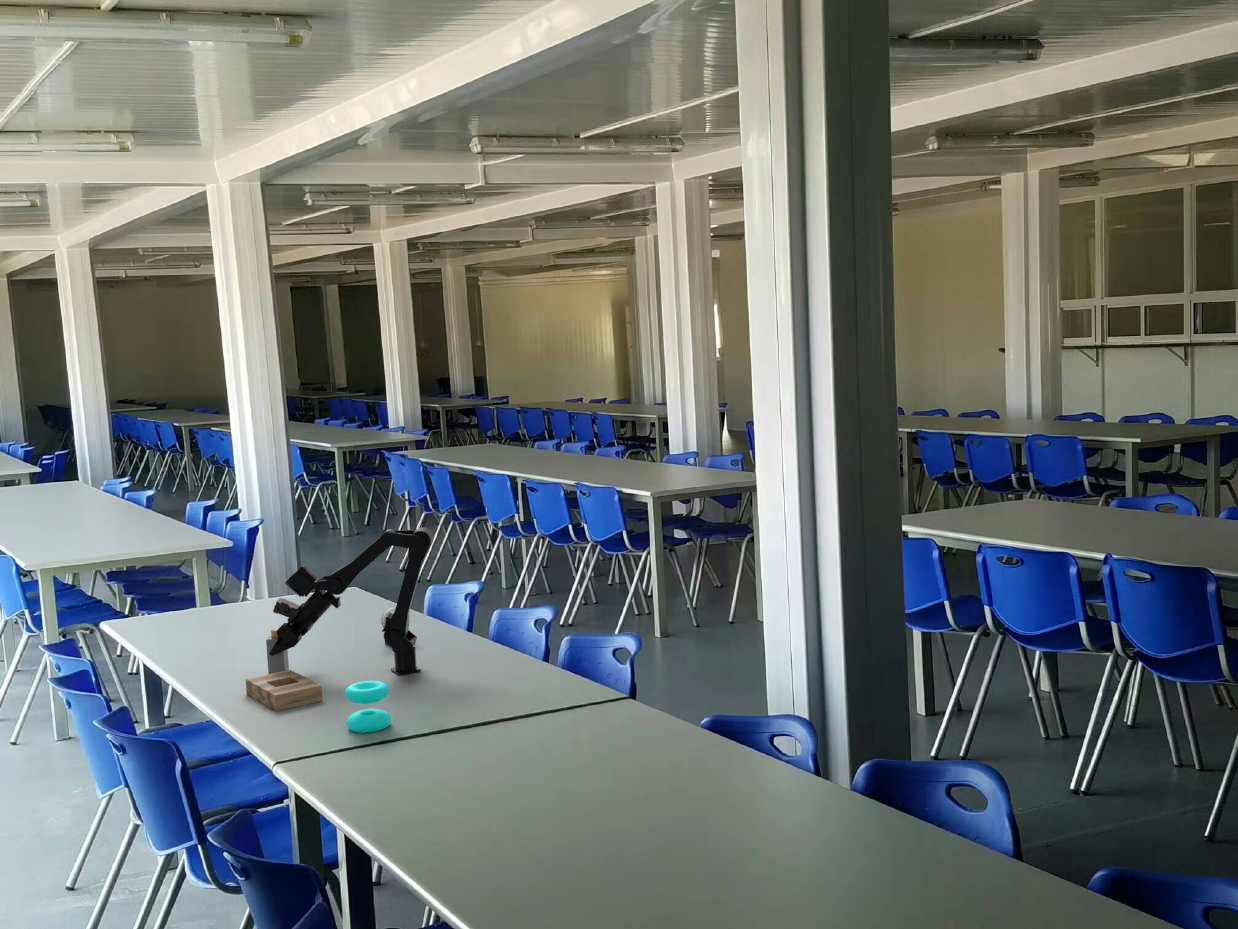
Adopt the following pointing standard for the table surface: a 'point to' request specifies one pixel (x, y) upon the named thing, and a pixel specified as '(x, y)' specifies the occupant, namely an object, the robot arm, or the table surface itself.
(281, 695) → the wooden block with hole
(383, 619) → the watch
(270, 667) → the gray square post
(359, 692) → the donuts
